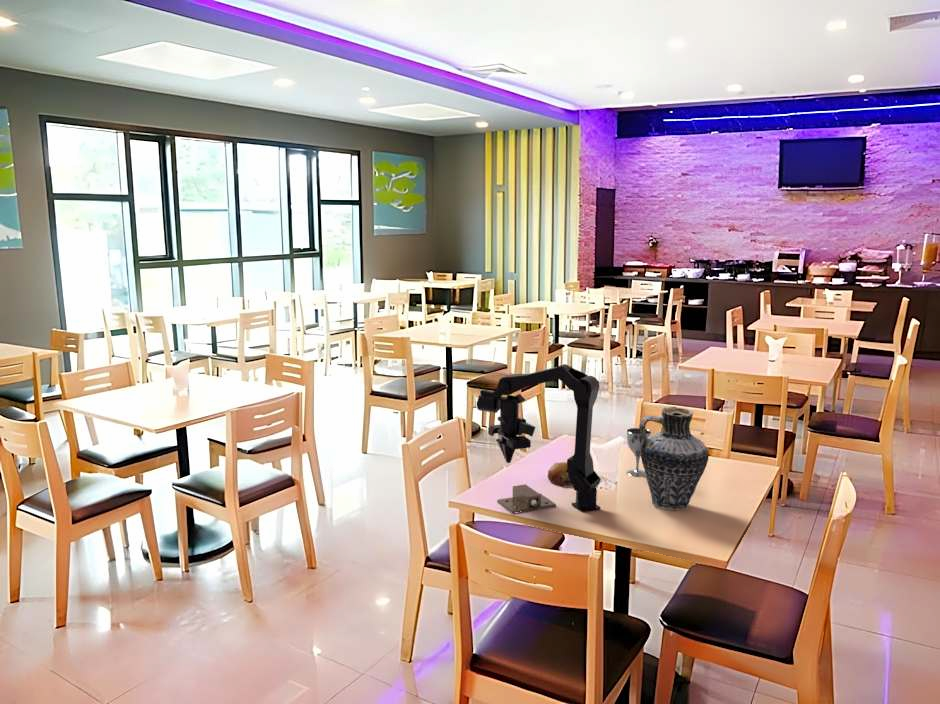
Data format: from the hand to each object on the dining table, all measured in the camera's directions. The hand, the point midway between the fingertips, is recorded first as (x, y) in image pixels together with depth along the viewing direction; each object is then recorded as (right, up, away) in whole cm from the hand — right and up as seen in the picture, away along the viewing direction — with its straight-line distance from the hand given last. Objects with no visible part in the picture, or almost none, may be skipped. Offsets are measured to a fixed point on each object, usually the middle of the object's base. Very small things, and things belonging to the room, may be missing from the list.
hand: (508, 462), depth 240 cm
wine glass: (+45, -7, +20) cm, 50 cm away
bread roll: (+19, -8, +12) cm, 24 cm away
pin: (+5, -11, -9) cm, 16 cm away
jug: (+48, -12, -10) cm, 51 cm away
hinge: (+5, -11, -9) cm, 16 cm away
